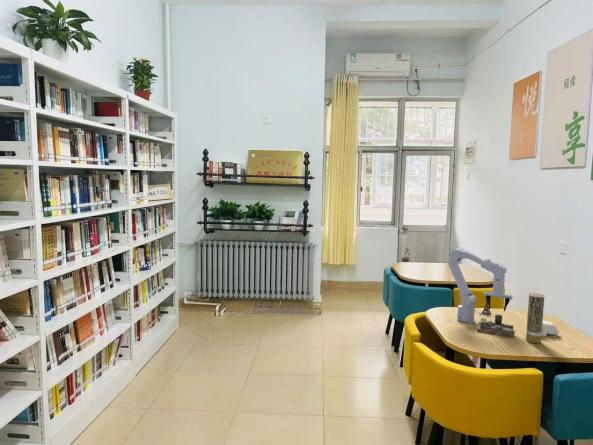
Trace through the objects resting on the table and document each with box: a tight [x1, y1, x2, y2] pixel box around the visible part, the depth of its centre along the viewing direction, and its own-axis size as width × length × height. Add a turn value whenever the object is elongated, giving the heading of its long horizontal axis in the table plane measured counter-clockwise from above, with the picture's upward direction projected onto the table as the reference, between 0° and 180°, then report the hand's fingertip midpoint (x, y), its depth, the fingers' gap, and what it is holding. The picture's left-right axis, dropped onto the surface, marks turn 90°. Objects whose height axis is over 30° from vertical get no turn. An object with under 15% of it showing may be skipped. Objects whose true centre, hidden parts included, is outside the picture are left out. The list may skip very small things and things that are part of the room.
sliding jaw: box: [494, 314, 503, 329], centre depth 223 cm, size 4×8×7 cm, turn 153°
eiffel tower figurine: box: [475, 300, 492, 318], centre depth 255 cm, size 15×10×13 cm
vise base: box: [476, 317, 515, 339], centre depth 224 cm, size 18×14×5 cm
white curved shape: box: [541, 320, 560, 338], centre depth 221 cm, size 9×8×15 cm
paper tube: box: [525, 292, 545, 344], centre depth 208 cm, size 7×7×25 cm
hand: (496, 309), depth 229 cm, fingers open, 7 cm apart
